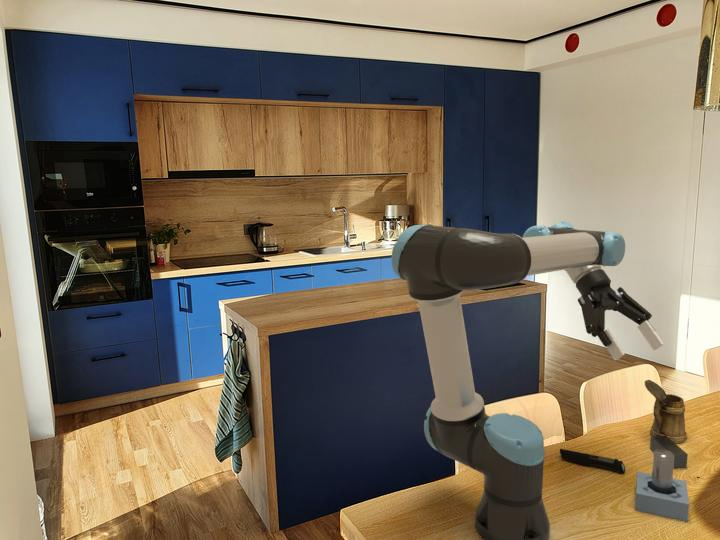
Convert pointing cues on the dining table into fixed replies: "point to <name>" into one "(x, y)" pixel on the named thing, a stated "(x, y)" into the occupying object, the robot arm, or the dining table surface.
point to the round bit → (662, 471)
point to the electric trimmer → (593, 460)
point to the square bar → (669, 445)
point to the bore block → (662, 498)
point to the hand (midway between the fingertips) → (640, 352)
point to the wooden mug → (667, 414)
